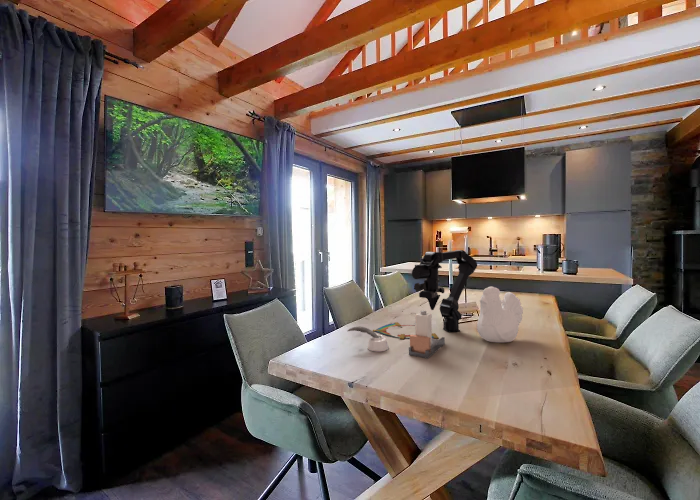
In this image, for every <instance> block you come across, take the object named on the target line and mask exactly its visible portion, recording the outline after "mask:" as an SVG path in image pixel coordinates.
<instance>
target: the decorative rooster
mask: <svg viewBox="0 0 700 500" xmlns="http://www.w3.org/2000/svg"><path fill="white" fill-rule="evenodd" d="M500 295H501V291H500V289H499V288H497V287H495V286H488V287H486V288H484V289H483V291H482V295H481V296H480V299H479V304H480V306H479V307H480V309H479V316H478V319H477V324H476V331H477V333H478V335H479V336H480V338H482V339H483V340H485V341H487V342H491V343H511V342H512V341H514V340H515V339H516V338H517V336H518V333H519V328H520V327H519V326H520V323H522V321H523V314H524V308H523V306H522V303H521V299H520V298H518V297H517V296H516V295H517V294H514V293H513V292H510V291H508V292H507V291H506V292H505V293H504V295H503V299H501V298H500Z"/></svg>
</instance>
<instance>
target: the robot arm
mask: <svg viewBox="0 0 700 500" xmlns="http://www.w3.org/2000/svg"><path fill="white" fill-rule="evenodd" d="M454 259H455V260H456V263H457V264H458V274H457V277H456V278H455V281H454V283H453V286H452V288H451V291H450V293H449V295H448V297H447V298H442V300H441V303H440V304H439V312H440V314H441V318H443V319H444V320H443V325H442V326H443V327H442V329H443V330H445V331H446V332H448V333H454V332H455V333H456V332H461V329H460V327H459V322H460V320H462V317H463V314H461V313H462V312H460V311H459V299H460V297H461V295H462V293H463V290H464V288H465V286H466V284H467V281H468V278H469V277H470V276H471V275H472V274H474V273H475V271H476V269H477V268H478V263H477V261H476V259H475V258H473V256H471V255H470V254H468V252H466V251H465V250H463V249H456V250H450V251H449V250H448V251H442V252H439V251H426V252H425V253H424V256H423V257H422V259H421V261H420V263H419V264H414V267H412V271H411V276H412V278H413V279H414V280H423V279H424V281H423V282H422V283H420V282H417V283H414V285H413V290H415V292H416V293H417V292H419V293H418V297H419V298H423V299H427V301H428V305H429V308H430V310H431V311H434V309H435V308H436V306H437V303H438V301H439V298H440V297H441V294H445V288H444V286H439V283H440V282H441V281H440V280H441V279H439V269H442V265H440V263H443V262H444V261H446V260H447V261H448V260H454ZM439 293H440V294H439Z"/></svg>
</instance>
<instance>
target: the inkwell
mask: <svg viewBox="0 0 700 500" xmlns="http://www.w3.org/2000/svg"><path fill="white" fill-rule="evenodd" d="M354 331H356V332H360V333H364V334H367V335H369V336H370V338H369V339H368V342H367V343H368V344H367V350H369V351H371V352H380V353H381V352H385V351H388V350H389V349H390V348H389V344H388V340H387V338H386V337H384V336H383V335H380V334H377V332H373V329H370V328H367V327H364V326H354V327H351V328H349V329H348V330H347V332H354Z"/></svg>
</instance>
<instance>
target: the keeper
mask: <svg viewBox="0 0 700 500" xmlns="http://www.w3.org/2000/svg"><path fill="white" fill-rule="evenodd" d="M432 314H433V313H429V312H427V311H426V310H420V311H419V312H418V313H416V314H415V316H414V317H415V318H414V319H415V323H414V325H415V335H418V336H424V337H430V338H431V346H432V339H433V338H432V333H433V332H432V331H433V328H432V325H433V324H432V320H433V319H432Z"/></svg>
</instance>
